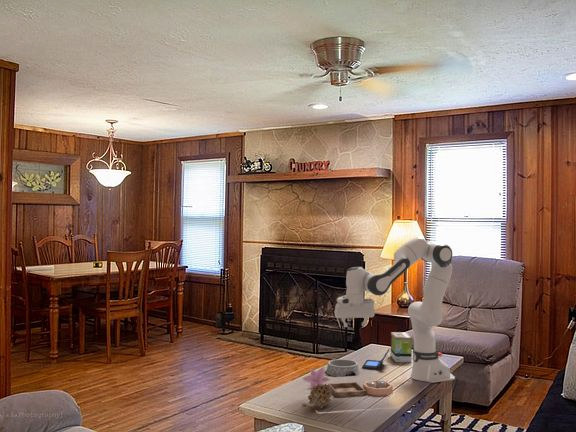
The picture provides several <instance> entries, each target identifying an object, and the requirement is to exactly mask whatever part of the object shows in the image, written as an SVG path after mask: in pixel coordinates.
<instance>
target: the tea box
mask: <svg viewBox="0 0 576 432" xmlns="http://www.w3.org/2000/svg"><path fill="white" fill-rule="evenodd" d="M412 348H413V337H412V336H411V335H410V334H409V333H408V332H404V331H403V332H400V331H398V332H397V331H394V332H392V331H391V332H390V356H391V358H392V359H393V360H394V362H395V363H412V362H413V349H412Z"/></svg>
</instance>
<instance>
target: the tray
mask: <svg viewBox="0 0 576 432" xmlns="http://www.w3.org/2000/svg"><path fill="white" fill-rule="evenodd" d="M327 385H328V387H330V389H332V391H331V392H332V393H331V394H333V396H335V398H345V397H357V396H361V397H362V396H367V393H366V390H365V389H364V388H363V386H362V385H360V383H358V382H357V381H353V382H352V381H351V382H349V381H347V382H336V383H334V382H333V383H327Z"/></svg>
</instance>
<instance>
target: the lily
mask: <svg viewBox="0 0 576 432" xmlns="http://www.w3.org/2000/svg"><path fill="white" fill-rule="evenodd" d="M309 371H310V375H306V376H304V377H303V378H302V380H303V381H305V382H307V383H309V384H310V386H309V387H310V388H309V389H311V390H312V389H313V388H312V387H314V386H317V384H319V385H320V384H321V385H325V383H327V382H329V381H330V378H328V377H326V376H325V367H324V366H322V367H321V368H319V369H318V370H317V371H316V370H315V369H313V368H310V369H309Z"/></svg>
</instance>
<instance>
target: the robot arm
mask: <svg viewBox="0 0 576 432" xmlns="http://www.w3.org/2000/svg"><path fill="white" fill-rule="evenodd" d="M393 259H394V263H393V264H392V265H391V266H390V267H389V268H388V269H387V270H386V271H384V272H383V273H380V274H376V273H373V272H370V271H368V270H366V269H364V268H363V267H362V266H353V267H349V268H348V269H347V271H346V275H345V277H346V280H345V286H346V291H345V295H342V296H339V297H338V298H336V302H337V303H336V304H335V307H334V316H335V318H337V319H341V322H342V323H343V327H344V328H348V326H349V323H347V322H346V319H358V318H361V319H362V318H363V319H364V320H363V321H362V322H361V327H366V325H367V324H366V323H367V322H368V320H369V318H374V317H375V315H376V313H375V300H374V299H372V298H364V297H365V296H364V292H368V293H371V294H372V295H375V296H383V295H385V294H386V293H387V291H388V290H389V288H391V285H393V283H394V282H395V281H396V280H398V278H399V277H401V276H402V275H403V274H404V273H405V272H406V271H407V270H408V269H409V268H410V267H412V265H414V264H416V263H417V262H418V261H419V260H420V259H421V261H424V262H427V263H428V262H429V263H430V264H431V267H430V268H431V269H430V271H429V273H428V276H427V278H426V279H425V283H424V286H423V289H422V292H423V298H422V301H413V302H411V303H410V304H409V306H408V308H407V313H408V316H409V319H410V321H411V322H410V323H411V328H412V332H413V349H412V369H411V373H410V378H412V379H413V380H417V381H421V382H428V383H439V382H440V383H441V382H447V381H454V380H455V379H456V378H455V375H453V374H452V373H451V370H450V369H451V368H450V367H449V365H448V364H447V363H446V362H444V361H443V360H442V359H441V357H442V356H443V353H442V352H439V351H437V350H436V335H435V333H434V330H433V327H438V326H439V325H441V323H442V321H443V312H442V307H443V300H444V296H445V294H446V292H447V288H448V286H449V284H450V282H451V281H450V280H451V277H452V274H453V265H452V259H453V250H452V248H451V246H449V245H448V244H445V243H442V242H437V241H434V242H433V241H427V240H426V239H425V238H424V237H422V236H416V237H413V238H412V239H410V240H408V241H407V242H405V243H403V244H402V245H401V246H399V247H398V248H397V249H396V251H395V252H394V253H393ZM439 357H440V358H439Z"/></svg>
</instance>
